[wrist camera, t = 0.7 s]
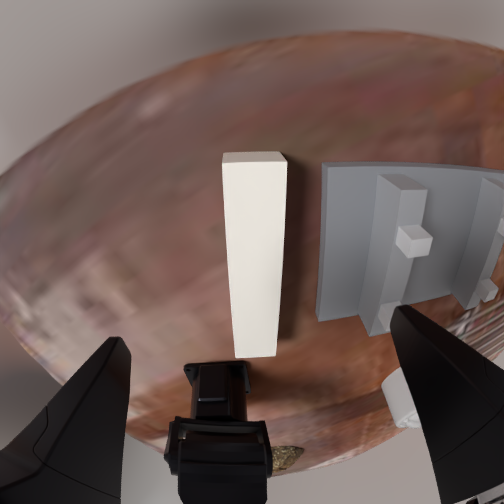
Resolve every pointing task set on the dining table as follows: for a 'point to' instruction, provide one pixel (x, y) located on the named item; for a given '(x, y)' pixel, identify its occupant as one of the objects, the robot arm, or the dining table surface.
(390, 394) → the white lego brick
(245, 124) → the dining table surface
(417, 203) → the grey pegged plate
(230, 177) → the clay strip
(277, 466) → the mottled brown rock
